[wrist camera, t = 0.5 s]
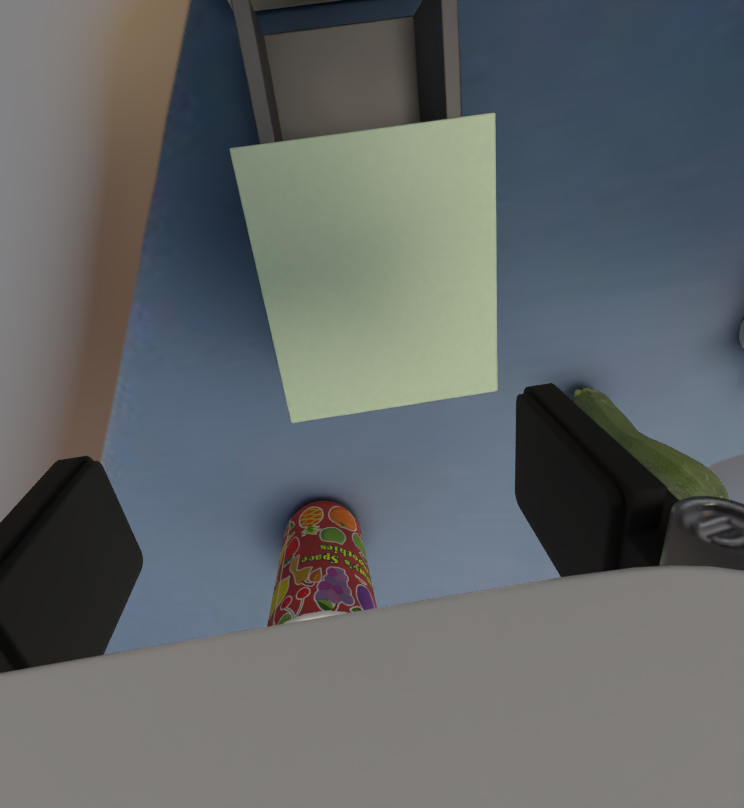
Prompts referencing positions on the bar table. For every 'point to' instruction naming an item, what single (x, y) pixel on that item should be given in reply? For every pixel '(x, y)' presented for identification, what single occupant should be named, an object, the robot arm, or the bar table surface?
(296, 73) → the drawer
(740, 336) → the house plant
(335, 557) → the smoothie
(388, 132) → the pale green box
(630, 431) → the vegetable
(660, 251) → the bar table surface
